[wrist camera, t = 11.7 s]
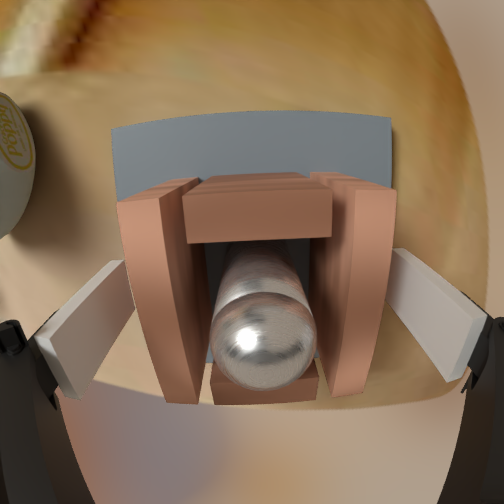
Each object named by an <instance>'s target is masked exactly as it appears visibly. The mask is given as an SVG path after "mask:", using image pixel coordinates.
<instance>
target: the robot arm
mask: <svg viewBox="0 0 504 504" xmlns="http://www.w3.org/2000/svg"><path fill="white" fill-rule="evenodd" d="M385 300H386V302H387V303H388V304H389V305H390V307H391V308H392V309H393V310H394V312H395V313H396V314H397V315H398V317H399V318H400V319H401V321H402V322H403V323H404V324H405V326H406V327H407V328H408V330H409V331H410V332H411V334H412V335H413V336H414V338H415V339H416V340H417V342H418V343H419V344H420V346H421V347H422V348H423V350H424V351H425V352H426V354H427V355H428V357H429V358H430V359H431V361H432V362H433V364H434V365H435V366H436V368H437V369H438V371H439V372H440V374H441V375H442V376H443V378H444V379H445V381H446V382H450V381H453V380H456V379H459V378H461V377H462V375H463V373H464V371H465V369H466V367H467V365H468V366H469V367H470V369H471V370H472V371H471V373H470V376H469V377H468V379H467V381H466V383H465V385H464V387H463V389H462V391H461V393H463V392H464V391H465V389H467V392H466V399H465V405H464V411H463V416H462V421H461V426H460V431H459V435H458V439H457V443H456V448H455V451H454V455H453V458H452V462H451V465H450V468H449V472H448V475H447V478H446V481H445V484H444V486H443V489H442V492H441V495H440V497H439V500H438V502H437V504H504V317H498V318H495V319H493V318H492V317H491V316H490V315H489V314H488V313H487V312H485V311H484V310H483V309H482V308H481V307H480V306H479V305H476V303H475V302H474V301H473V300H470V298H469V297H468V296H467V295H466V294H464V293H463V292H461V291H459V290H457V289H456V288H455V287H454V286H453V285H451V284H450V283H449V282H448V281H446V280H445V279H444V278H443V277H441V276H440V275H439V274H438V273H436V272H435V271H434V270H432V269H431V268H430V267H429V266H427V265H426V264H425V263H423V262H422V261H421V260H419V259H418V258H417V257H415V256H414V255H413V254H411V253H410V252H409V251H407V250H406V249H405V248H392V255H391V263H390V270H389V277H388V283H387V289H386V295H385ZM134 310H135V306H134V302H133V298H132V294H131V290H130V285H129V281H128V276H127V272H126V267H125V262H124V260H111V261H110V262H109V263H107V264H106V265H105V266H104V267H103V268H102V269H101V270H100V271H99V272H98V273H96V274H95V275H94V276H93V277H92V278H91V279H90V280H89V281H88V282H87V283H86V284H85V285H84V286H83V287H82V288H80V289H79V290H78V291H77V292H76V293H75V294H74V295H73V296H72V297H71V298H70V299H69V300H68V301H67V302H66V303H65V304H64V305H63V306H62V307H61V308H60V309H59V310H57V311H55V312H54V313H53V314H52V315H51V316H50V317H49V320H46V322H45V323H44V325H42V326H41V327H40V328H39V329H38V330H37V331H36V332H35V333H34V334H33V335H32V336H31V337H30V339H29V340H28V341H27V339H26V336H25V334H24V332H23V330H22V327H21V325H20V323H19V321H17V320H8V321H5V322H3V323H1V324H0V504H95V502H94V500H93V498H92V496H91V494H90V491H89V490H88V487H87V485H86V482H85V480H84V478H83V475H82V473H81V470H80V468H79V465H78V463H77V460H76V457H75V454H74V451H73V448H72V445H71V442H70V439H69V436H68V433H67V430H66V426H65V423H64V419H63V415H62V412H61V408H60V404H59V400H58V397H57V395H56V394H55V392H54V391H55V389H56V388H57V386H58V385H59V387H60V389H61V390H62V392H63V394H64V396H65V397H69V398H73V399H77V400H81V399H82V396H83V395H84V393H85V391H86V389H87V388H88V386H89V384H90V382H91V381H92V379H93V377H94V376H95V374H96V372H97V370H98V369H99V367H100V365H101V363H102V362H103V360H104V358H105V357H106V355H107V353H108V352H109V350H110V348H111V347H112V345H113V343H114V342H115V340H116V339H117V337H118V335H119V334H120V332H121V330H122V329H123V327H124V326H125V324H126V323H127V321H128V319H129V318H130V316H131V315H132V313H133V312H134Z"/></svg>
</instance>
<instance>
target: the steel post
mask: <svg viewBox="0 0 504 504" xmlns="http://www.w3.org/2000/svg"><path fill="white" fill-rule="evenodd" d="M316 347H317V329H316V324H315V321H314V318H313V315H312V313H311V310H310V307H309V304H308V301H307V299H306V296H305V293H304V290H303V288H302V285H301V282H300V279H299V277H298V274H297V271H296V269H295V266H294V263H293V261H292V258H291V255H290V253H289V250H288V247H287V245H286V242H285V240H284V239H271V240H250V241H230V242H229V245H228V248H227V253H226V257H225V262H224V266H223V271H222V276H221V280H220V285H219V290H218V295H217V299H216V304H215V309H214V314H213V319H212V324H211V329H210V348H211V352H212V356H213V358H214V360H215V363H216V364H217V366H218V367H219V369H220V370H221V372H222V373H223V374H224V375H225V376H226V377H227V378H228V379H230V380H231V381H232V382H234V383H236V384H237V385H239V386H241V387H244V388H247V389H250V390H255V391H271V390H276V389H280V388H283V387H285V386H287V385H289V384H291V383H292V382H294V381H295V380H297V379H298V378H299V377H300V376H301V375H302V374H303V373H304V372H305V371H306V370H307V368H308V367H309V365H310V364H311V362H312V360H313V358H314V355H315V352H316Z"/></svg>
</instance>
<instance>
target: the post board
mask: <svg viewBox="0 0 504 504" xmlns="http://www.w3.org/2000/svg"><path fill="white" fill-rule="evenodd" d="M111 135H112V151H113V164H114V175H115V185H116V194H117V202H119V201H121V200H124V199H126V198H128V197H130V196H133V195H135V194H137V193H140V192H142V191H144V190H147V189H149V188H152V187H154V186H157V185H159V184H161V183H164V182H167V181H169V180H172V179H182V178H193V177H198V182H199V184H200V183H202V182H203V181H205V180H207V179H208V178H210V177H211V176H218V175H234V174H253V173H281V172H297V173H299V174H301V175H303V176H306V177H308V178H310V172H338V173H341V174H345V175H348V176H352V177H355V178H359V179H362V180H365V181H369V182H372V183H375V184H378V185H382V186H385V187H388V188H391V178H392V132H391V118H388V117H380V116H372V115H362V114H352V113H339V112H321V111H246V112H228V113H215V114H204V115H194V116H186V117H178V118H170V119H163V120H157V121H151V122H145V123H139V124H134V125H129V126H124V127H119V128H114V129H111ZM284 240H285V242H286V245H287V247H288V250H289V253H290V255H291V258H292V261H293V263H294V266H295V269H296V271H297V274H298V277H299V279H300V282H301V285H302V288H303V290H304V293H305V296H306V299H307V301H308V288H309V259H310V238H294V239H284ZM229 242H230V241H229ZM229 242H209V243H204V248H205V257H206V266H207V275H208V283H209V291H210V299H211V307H212V315H213V314H214V309H215V304H216V299H217V295H218V290H219V285H220V280H221V276H222V271H223V266H224V262H225V257H226V253H227V248H228V245H229ZM318 357H319V353H318V350H317V347H316V352H315V355H314V358H318ZM213 359H214V358H213V356H212V352H211V348H210V342H209V347H208V352H207V358H206V363H213Z"/></svg>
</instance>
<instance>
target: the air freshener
mask: <svg viewBox="0 0 504 504" xmlns="http://www.w3.org/2000/svg"><path fill="white" fill-rule="evenodd" d="M35 159H36V153H35V146H34V141H33V137H32V134H31V131H30V128H29V126H28V124H27V121H26V119H25V117H24V115H23V114H22V112H21V110H20V109H19V107H18V106H17V105H16V104H15V102H14V101H13V100H12V99H11V98H10V97H9V96H7V95H6V94H4V93H1V92H0V239H1V238H3V237H4V236H5V235H7V234H8V233H9V232H10V231H11V230H12V229H13V228H14V227H15V225H16V224H17V223H18V221H19V220H20V218H21V216H22V215H23V213H24V211H25V208H26V206H27V203H28V201H29V198H30V194H31V191H32V186H33V181H34V174H35Z"/></svg>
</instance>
